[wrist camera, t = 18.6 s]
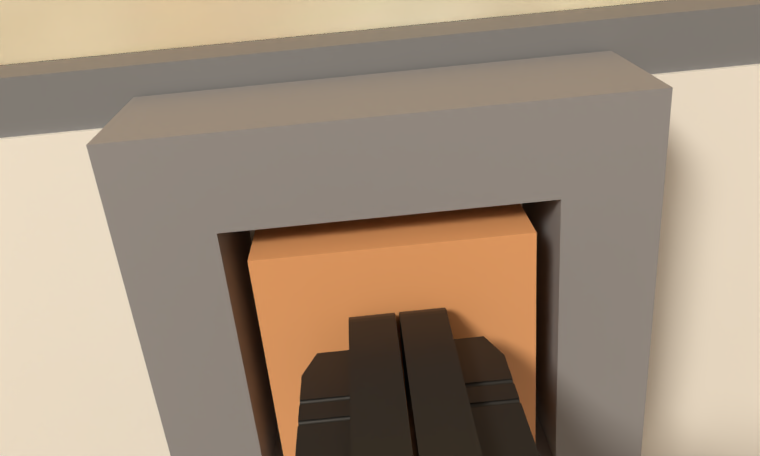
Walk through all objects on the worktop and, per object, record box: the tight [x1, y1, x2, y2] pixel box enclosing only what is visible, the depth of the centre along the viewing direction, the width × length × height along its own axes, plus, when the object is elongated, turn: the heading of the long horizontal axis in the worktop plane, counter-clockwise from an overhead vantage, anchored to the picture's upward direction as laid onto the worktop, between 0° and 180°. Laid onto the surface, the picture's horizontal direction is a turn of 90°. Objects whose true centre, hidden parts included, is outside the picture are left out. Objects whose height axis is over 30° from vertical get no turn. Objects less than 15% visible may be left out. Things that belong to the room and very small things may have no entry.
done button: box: [247, 204, 537, 456], centre depth 12 cm, size 4×4×2 cm
